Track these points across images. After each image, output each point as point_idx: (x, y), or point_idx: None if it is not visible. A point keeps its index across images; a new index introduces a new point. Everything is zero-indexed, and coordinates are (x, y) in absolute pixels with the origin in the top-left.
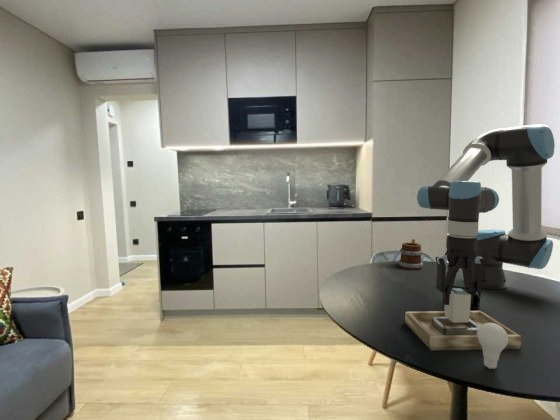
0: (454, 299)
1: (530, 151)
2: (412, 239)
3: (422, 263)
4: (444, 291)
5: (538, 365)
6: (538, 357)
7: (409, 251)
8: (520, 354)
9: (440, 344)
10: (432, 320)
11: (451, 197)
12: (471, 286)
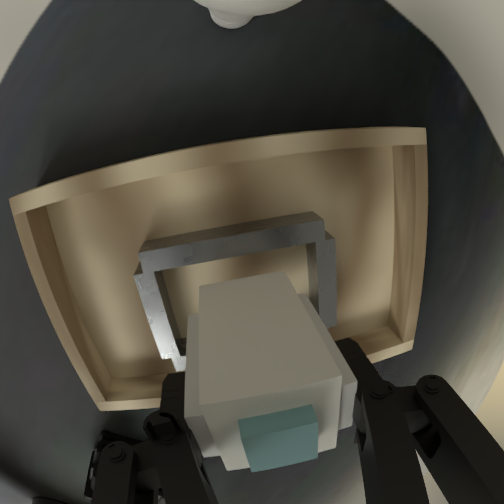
0: (328, 354)
1: None
2: None
3: None
4: (405, 394)
5: (38, 76)
6: (10, 136)
7: None
8: (53, 141)
9: (377, 127)
10: (334, 317)
11: None
12: (183, 481)
